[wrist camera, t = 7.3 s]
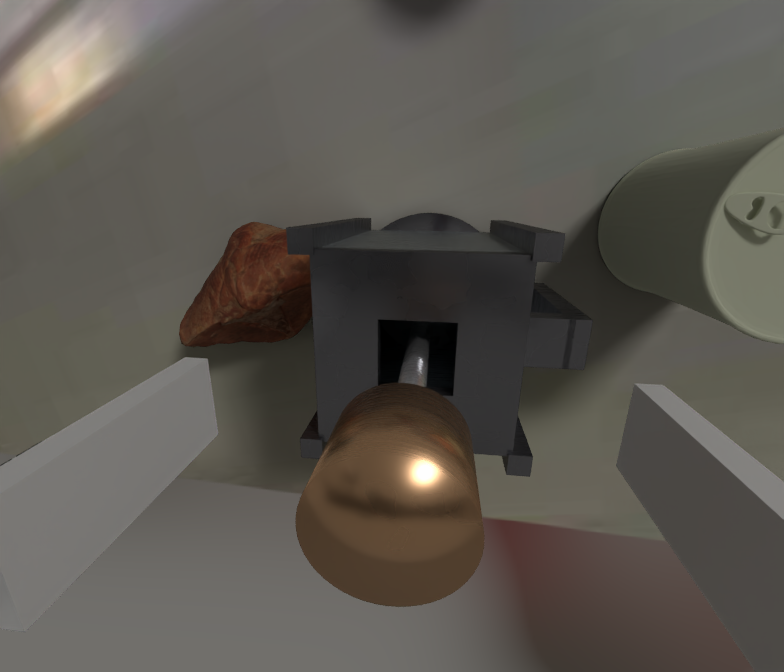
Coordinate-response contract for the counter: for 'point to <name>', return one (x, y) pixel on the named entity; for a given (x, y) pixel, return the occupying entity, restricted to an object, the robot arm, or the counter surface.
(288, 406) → the counter surface
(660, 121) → the counter surface
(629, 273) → the can
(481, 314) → the cube with square hole
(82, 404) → the counter surface
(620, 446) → the robot arm
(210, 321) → the brown tapered lumpy piece
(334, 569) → the plunger
